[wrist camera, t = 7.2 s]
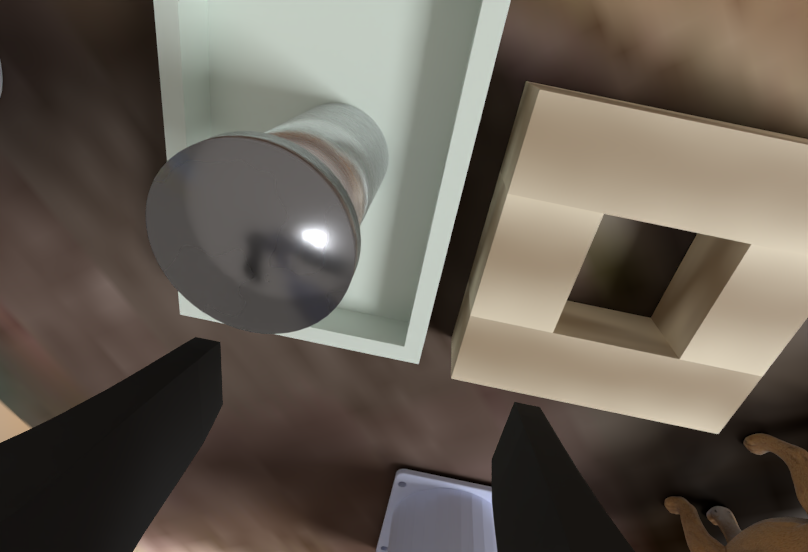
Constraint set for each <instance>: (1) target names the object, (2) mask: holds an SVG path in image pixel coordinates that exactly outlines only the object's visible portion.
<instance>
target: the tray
mask: <svg viewBox="0 0 808 552" xmlns="http://www.w3.org/2000/svg"><path fill="white" fill-rule="evenodd" d="M510 1H511V0H153V3H154V14H155V26H156V38H157V50H158V61H159V73H160V85H161V96H162V108H163V120H164V132H165V143H166V155H167V161H168V160H169V159H170V158H172V157H173V156H174V155H176V154H177V153H178V152H179V151H181V150H183V149H185V148H187V147H189V146H191V145H193V144H196V143H198V142H200V141H203V140H205V139H208V138H210V137H213V136H216V135H219V134H222V133H228V132H234V131H255V132H263V133H264V132H266V131H268V130H270V129H272V128H274V127H276V126H278V125H280V124H282V123H284V122H286V121H288V120H290V119H292V118H294V117H296V116H298V115H300V114H302V113H304V112H306V111H308V110H310V109H312V108H314V107H316V106H319V105H322V104H326V103H344V104H348V105H352V106H354V107H356V108H358V109H360V110H362V111H364V112H365V113H366V114H367V115H369V116H370V117H371V118H372V119H373V120H374V121H375V122H376V124H377V125H378V126H379V128H380V129H381V131H382V133H383V135H384V137H385V140H386V143H387V147H388V155H389V161H388V168H387V172H386V175H385V178H384V180H383V182H382V184H381V186H380V188H379V190H378V192H377V194H376V196H375V198H374V200H373V202H372V204H371V206H370V207H369V209H368V211H367V213H366V215H365V217H364V219H363V221H362V223H361V225H360V233H361V251H360V257H359V262H358V265H357V268H356V271H355V273H354V276H353V278H352V281H351V283H350V285H349V288H348V290H347V292H346V294H345V295H344V297H343V299H342V300H341V302H340V303H339V304H338V306H337V307H336V308H335V309H334V310H333V311H332V312H331V313H330V314H329V315H328V316H327V317H325V318H324V319H322V320H321V321H319V322H318V323H316V324H314V325H312V326H310V327H307V328H304V329H302V330H299V331H294V332H289V333H281V334H276V335H281V336H286V337H291V338H296V339H300V340H305V341H310V342H315V343H320V344H324V345H329V346H334V347H339V348H344V349H348V350H353V351H358V352H363V353H368V354H372V355H377V356H382V357H387V358H392V359H396V360H401V361H406V362H411V363H415V364H419V360H420V357H421V353H422V349H423V345H424V341H425V337H426V333H427V329H428V325H429V321H430V317H431V313H432V309H433V305H434V301H435V297H436V293H437V289H438V285H439V281H440V277H441V274H442V270H443V266H444V262H445V258H446V254H447V250H448V246H449V242H450V238H451V234H452V230H453V226H454V222H455V218H456V214H457V210H458V206H459V202H460V198H461V194H462V191H463V187H464V183H465V179H466V175H467V171H468V167H469V163H470V159H471V155H472V151H473V147H474V143H475V139H476V135H477V131H478V127H479V123H480V119H481V115H482V112H483V108H484V104H485V100H486V96H487V92H488V88H489V84H490V80H491V76H492V72H493V68H494V64H495V60H496V56H497V52H498V48H499V44H500V40H501V36H502V32H503V29H504V25H505V21H506V17H507V13H508V9H509V5H510ZM178 295H179V307H180V314H181V315H185V316H190V317H195V318H200V319H205V320H209V321H214V322H219V323H222V322H220V321H218V320H216V319H214V318H212V317H210V316H209V315H207V314H205V313H204V312H202V311H201V310H199V309H198V308H197V307H195V306H194V305H193V304H191V303H190V302H189V301H188V300H187V299H186V298H185V297H184V296H182V294H181V293H180V292H179V291H178Z"/></svg>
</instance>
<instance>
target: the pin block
mask: <svg viewBox="0 0 808 552" xmlns="http://www.w3.org/2000/svg"><path fill="white" fill-rule="evenodd" d="M604 214H608V215H613V216H618V217H623V218H627V219H632V220H637V221H642V222H647V223H652V224H656V225H661V226H666V227H671V228H676V229H681V230H685V231H690V232H695V233H697V235H696V237H695V238H694V240H693V242H692V244H691V246H690V247H689V249H688V251H687V253H686V255H685V257H684V258H683V260H682V262H681V264H680V266H679V267H678V269H677V271H676V273H675V275H674V276H673V278H672V280H671V282H670V284H669V286H668V287H667V289H666V291H665V293H664V295H663V296H662V298H661V300H660V302H659V304H658V305H657V307H656V309H655V311H654V313H653V315H652V316H651V318H649V317H644V316H640V315H635V314H630V313H625V312H620V311H616V310H611V309H606V308H601V307H596V306H591V305H587V304H582V303H577V302H572V301H567V299H568V296H569V294H570V292H571V289H572V287H573V285H574V282H575V280H576V278H577V275H578V273H579V271H580V268H581V266H582V264H583V261H584V259H585V257H586V254H587V252H588V250H589V247H590V245H591V243H592V240H593V238H594V236H595V233H596V231H597V229H598V226H599V224H600V222H601V219H602V217H603V215H604ZM807 317H808V139H805V138H800V137H796V136H791V135H786V134H781V133H776V132H771V131H766V130H762V129H757V128H752V127H747V126H742V125H737V124H732V123H728V122H723V121H718V120H713V119H708V118H703V117H699V116H694V115H689V114H684V113H679V112H674V111H669V110H665V109H660V108H655V107H650V106H645V105H640V104H635V103H631V102H626V101H621V100H616V99H611V98H606V97H601V96H597V95H592V94H587V93H582V92H577V91H572V90H567V89H563V88H558V87H553V86H548V85H543V84H538V83H534V82H529V81H526V83H525V86H524V90H523V93H522V97H521V100H520V103H519V107H518V110H517V114H516V117H515V121H514V124H513V128H512V131H511V135H510V138H509V141H508V145H507V148H506V152H505V155H504V159H503V162H502V166H501V169H500V172H499V176H498V179H497V183H496V186H495V190H494V193H493V197H492V200H491V204H490V207H489V210H488V214H487V217H486V221H485V224H484V228H483V231H482V235H481V238H480V242H479V245H478V248H477V252H476V255H475V259H474V262H473V266H472V269H471V273H470V276H469V279H468V283H467V286H466V290H465V293H464V297H463V300H462V304H461V307H460V311H459V314H458V317H457V321H456V324H455V328H454V331H453V335H452V345H451V379H456V380H461V381H466V382H470V383H475V384H480V385H485V386H490V387H494V388H499V389H504V390H509V391H514V392H518V393H523V394H528V395H533V396H538V397H542V398H547V399H552V400H557V401H561V402H566V403H571V404H576V405H581V406H585V407H590V408H595V409H600V410H605V411H609V412H614V413H619V414H624V415H629V416H633V417H638V418H643V419H648V420H652V421H657V422H662V423H667V424H672V425H676V426H681V427H686V428H691V429H696V430H700V431H705V432H710V433H715V434H719V433H720V431H721V430H722V429H723V427H724V426H725V425H726V424H727V422H728V421H729V420H730V418H731V417H732V416H733V414H734V413H735V412H736V410H737V409H738V408H739V407H740V405H741V404H742V403H743V401H744V400H745V399H746V397H747V396H748V395H749V393H750V392H751V391H752V389H753V388H754V387H755V386H756V384H757V383H758V382H759V380H760V379H761V378H762V376H763V375H764V374H765V372H766V371H767V370H768V369H769V367H770V366H771V365H772V363H773V362H774V361H775V359H776V358H777V357H778V355H779V354H780V353H781V352H782V350H783V349H784V348H785V346H786V345H787V344H788V342H789V341H790V340H791V338H792V337H793V336H794V334H795V333H796V332H797V331H798V329H799V328H800V327H801V325H802V324H803V323H804V321H805V320H806V319H807Z"/></svg>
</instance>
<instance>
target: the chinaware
mask: <svg viewBox="0 0 808 552" xmlns="http://www.w3.org/2000/svg"><path fill="white" fill-rule="evenodd" d="M2 84H3V75H2V66H1V61H0V97H1V92H2Z"/></svg>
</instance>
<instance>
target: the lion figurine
mask: <svg viewBox="0 0 808 552" xmlns="http://www.w3.org/2000/svg"><path fill="white" fill-rule="evenodd" d="M743 444H744V446H745V447H746V448H747V449H748V450H749V451H751V452H752V453H755V454H757V455H762V454H765V453H766V452H772V453H775V454H776V455H778V456H779V457H780V458H781V459H783V460H784V462H785V463H786V464H787V466H788V467H789V469H790V472H791V476H792V479H793V482H794V486H795V490H796V494H797V498H798V500H799V502H800V503H801V505H802V507H803V508H804V509H805V511H806V512H807V514H808V452H807V451H806V450H804V449H802V448H800V447H798V446H795V445H792V444H789V443H787V442H785V441H782V440H780V439H778V438H775V437H773V436H771V435H768V434H764V433H756V434H752V435H750V436H748V437H746V438H745V440H744V443H743ZM664 505H665V507H666V508H667V509H668V511H669V512H670V513H675V514H680V516H681V522H682V526H683V529H684V532H685V537H686V541H687V543H688V546H689V549H690V551H691V552H808V519H803V518H795V517H778V518H770V519H766V520H763V521H760V522H757V523H755V524H753V525H751V526H750V527H748V528H746V529H745V530H743V531H741V530H740V528H739V526H738V524H737V522H736V519H735V517H734V515H733V513H732V512H731V511H730V510H729V509H728V508H725V507H722V506H714V507H712V508H711V509H709V511H708V512H707V518H708V520H710V521H711V522H712V523H713V524H714V525H718V526H719V527H720V529H721V531H722V532H723V534H724V536H725V538H726V540H727V543H728V544H727V545H726V546H723V545H722V544H721V543H719V542H718V541H717V540H716V539H714V538H713V537H711V536H710V535H709V534H708V532H707V531H706V529H705V527H704V526H703V524H702V522H701V520H700V518H699V516H698V513H697V510H696V508H695V507H694V506H693V505H691V504H690V503H689V502H688V501H687V500H686V499H685V498H683V497H678V496H671V497H668V498H666V499H665V502H664Z"/></svg>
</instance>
